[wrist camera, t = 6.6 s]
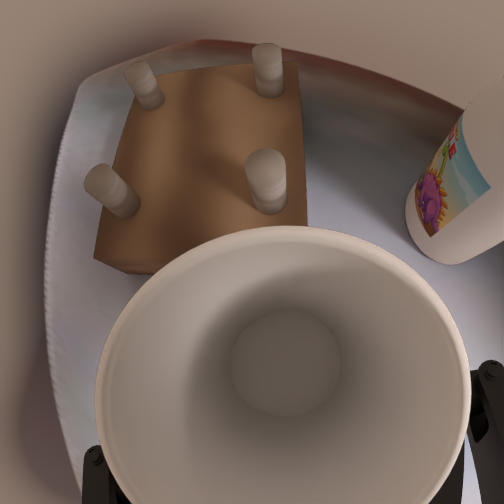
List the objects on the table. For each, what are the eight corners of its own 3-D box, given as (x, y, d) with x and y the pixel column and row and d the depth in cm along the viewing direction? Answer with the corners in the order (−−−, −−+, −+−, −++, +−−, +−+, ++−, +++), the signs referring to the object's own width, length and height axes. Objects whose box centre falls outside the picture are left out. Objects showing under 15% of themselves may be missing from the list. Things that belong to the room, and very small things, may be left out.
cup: (208, 339, 21) (48, 328, 6) (309, 286, 21) (357, 161, 6) (260, 436, 19) (205, 593, 4) (362, 383, 19) (505, 456, 4)
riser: (297, 100, 26) (295, 24, 18) (304, 277, 22) (313, 236, 13) (159, 111, 28) (125, 49, 19) (127, 273, 23) (56, 240, 15)
